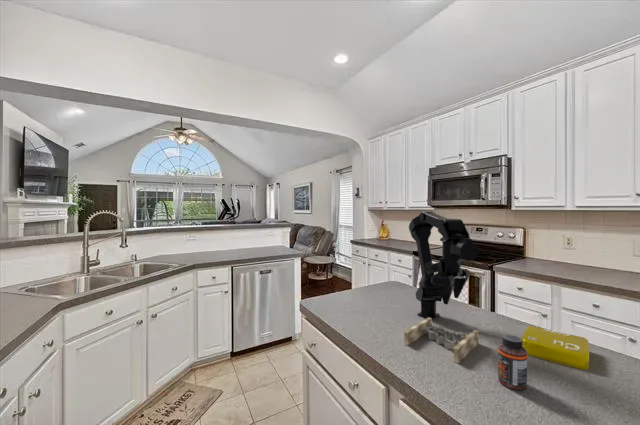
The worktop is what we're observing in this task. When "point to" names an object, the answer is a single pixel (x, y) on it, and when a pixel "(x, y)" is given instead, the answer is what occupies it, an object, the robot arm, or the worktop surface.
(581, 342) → the element tile
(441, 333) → the egg carton
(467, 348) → the open wooden frame
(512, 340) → the supplement bottle
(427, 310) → the robot arm
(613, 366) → the worktop surface
